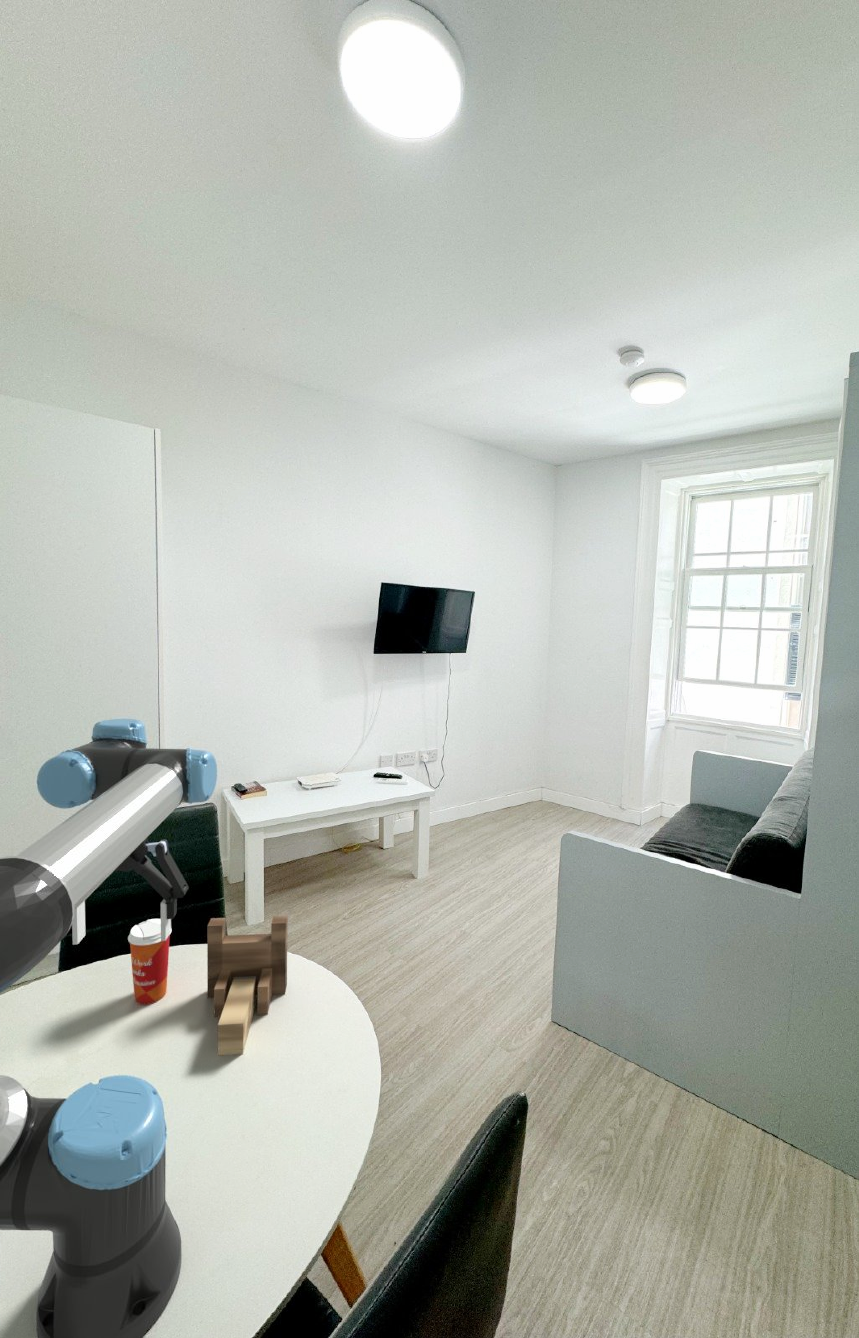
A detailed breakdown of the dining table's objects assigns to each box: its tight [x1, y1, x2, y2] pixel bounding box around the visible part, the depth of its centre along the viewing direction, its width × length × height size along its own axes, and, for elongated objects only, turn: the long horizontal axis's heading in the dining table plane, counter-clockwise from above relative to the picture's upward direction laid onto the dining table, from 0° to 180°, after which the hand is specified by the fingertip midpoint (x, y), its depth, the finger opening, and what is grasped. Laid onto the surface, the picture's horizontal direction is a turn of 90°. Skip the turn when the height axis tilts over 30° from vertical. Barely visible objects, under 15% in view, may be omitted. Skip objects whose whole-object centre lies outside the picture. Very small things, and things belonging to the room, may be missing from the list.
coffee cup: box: [127, 918, 173, 1005], centre depth 119 cm, size 8×8×15 cm
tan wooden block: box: [217, 976, 257, 1056], centre depth 111 cm, size 14×4×6 cm, turn 7°
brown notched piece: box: [206, 915, 288, 1018], centre depth 118 cm, size 9×16×16 cm, turn 98°
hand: (123, 938), depth 94 cm, fingers open, 13 cm apart
